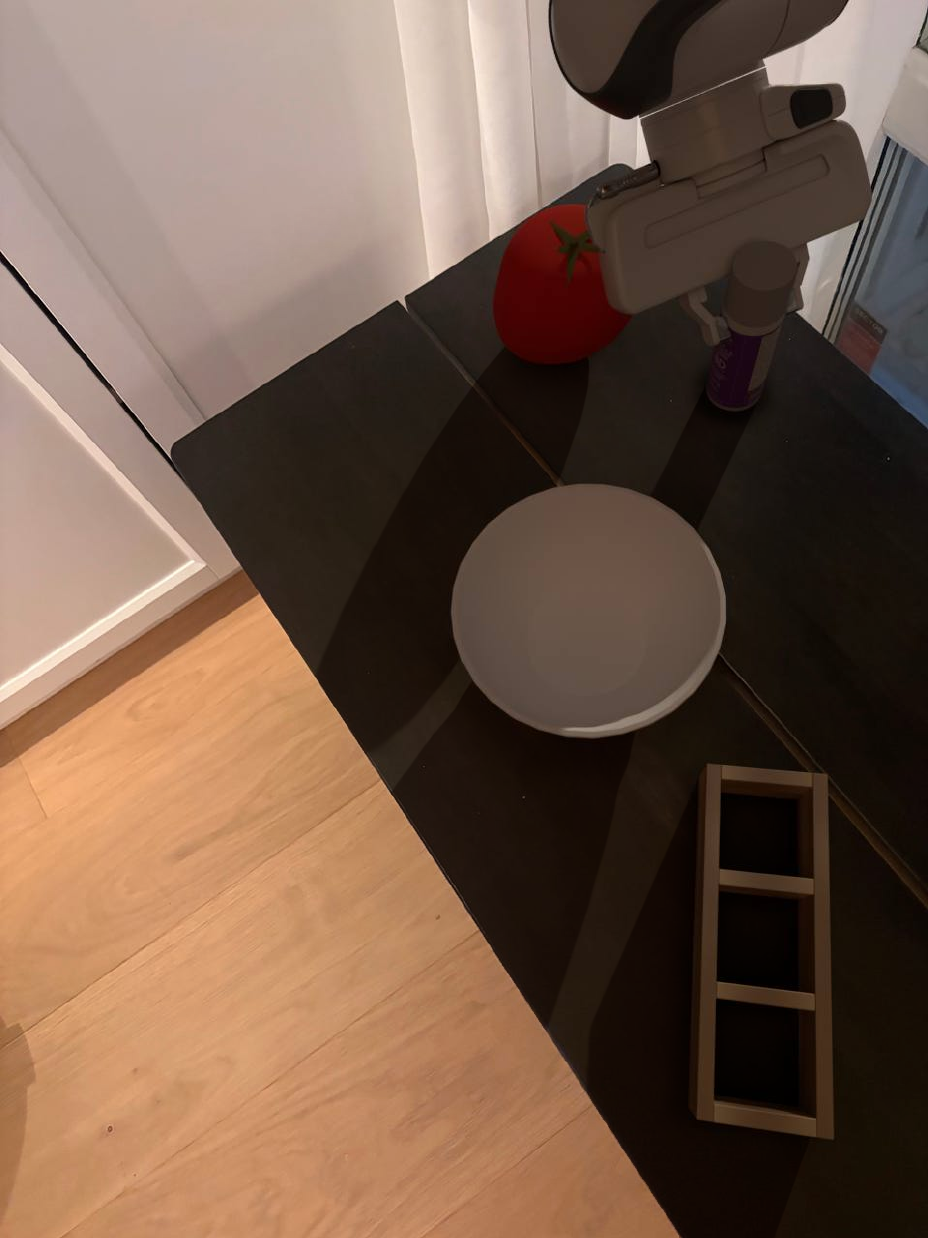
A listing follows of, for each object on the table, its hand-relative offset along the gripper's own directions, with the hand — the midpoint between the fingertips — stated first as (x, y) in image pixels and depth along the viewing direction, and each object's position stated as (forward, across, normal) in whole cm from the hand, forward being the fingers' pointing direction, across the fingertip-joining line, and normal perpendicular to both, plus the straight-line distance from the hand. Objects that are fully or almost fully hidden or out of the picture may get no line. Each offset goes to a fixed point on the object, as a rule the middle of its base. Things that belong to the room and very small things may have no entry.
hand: (754, 327), depth 70 cm
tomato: (-3, -10, +16) cm, 19 cm away
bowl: (+17, -21, -4) cm, 28 cm away
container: (+6, 0, +7) cm, 9 cm away
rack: (+34, -20, -22) cm, 45 cm away
